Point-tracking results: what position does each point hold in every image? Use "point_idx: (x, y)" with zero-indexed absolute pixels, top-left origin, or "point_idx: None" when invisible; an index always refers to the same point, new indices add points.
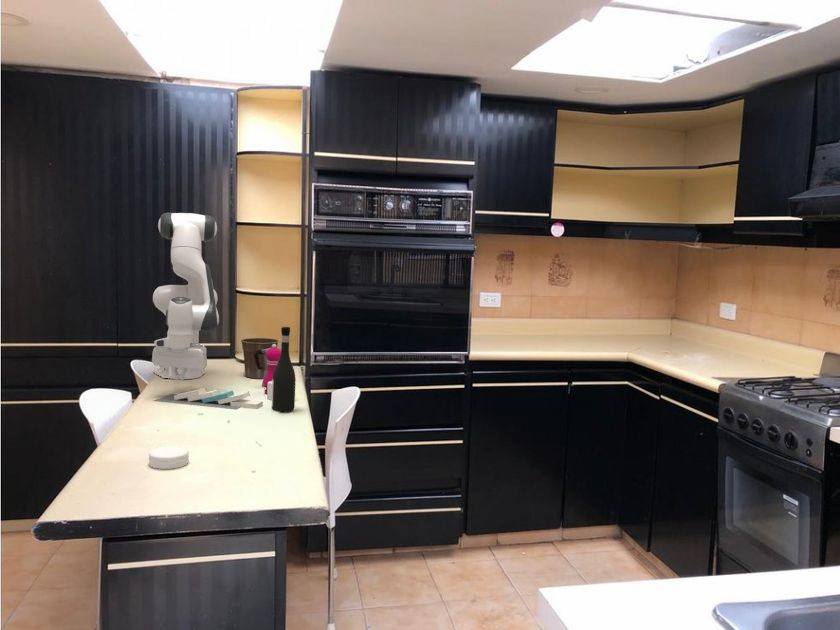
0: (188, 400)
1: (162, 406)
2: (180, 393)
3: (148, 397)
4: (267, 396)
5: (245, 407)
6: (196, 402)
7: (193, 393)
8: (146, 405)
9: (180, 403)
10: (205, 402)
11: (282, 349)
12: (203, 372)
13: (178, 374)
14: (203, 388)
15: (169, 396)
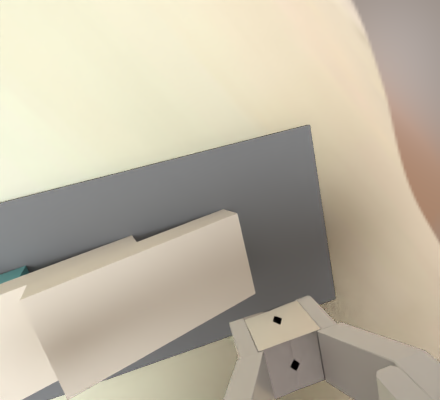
0: (129, 237)
1: (186, 67)
2: (246, 281)
3: (389, 183)
4: None
5: None
6: (74, 252)
7: (77, 271)
8: (280, 29)
9: (133, 172)
10: (1, 274)
11: None
12: None
13: (314, 366)
14: (58, 379)
15: (306, 251)
